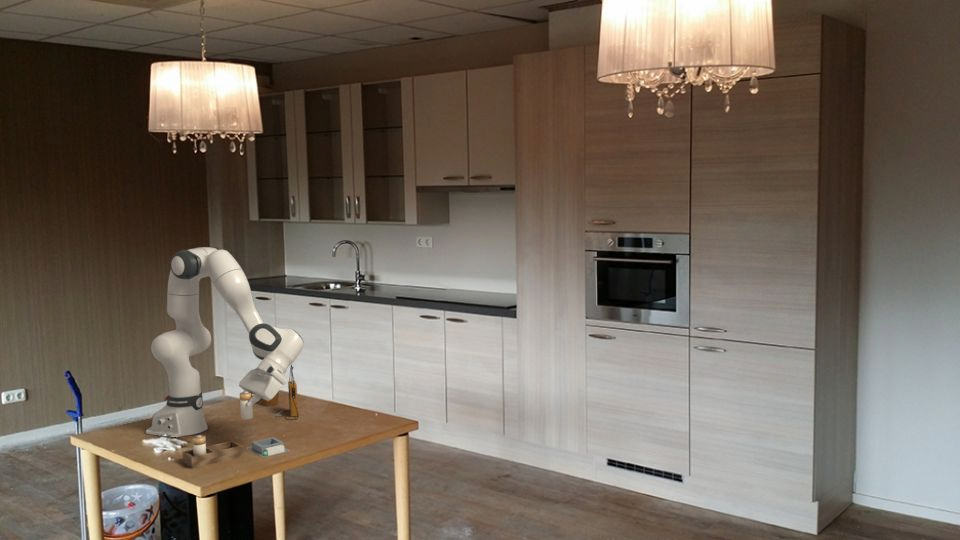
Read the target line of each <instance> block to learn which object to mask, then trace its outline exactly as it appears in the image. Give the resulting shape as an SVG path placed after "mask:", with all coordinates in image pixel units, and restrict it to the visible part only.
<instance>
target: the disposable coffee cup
mask: <svg viewBox="0 0 960 540" xmlns="http://www.w3.org/2000/svg"><path fill="white" fill-rule="evenodd" d="M279 395H280V390H279V391H278V392H277V394H276V395H275V396H274V397H273V398H272V399H271V400H269V401H267V400H265V399H263V398H261V402H262V406H263V405H264V406H263V407H274V406H277V405H278V404H279V398H280V397H279ZM273 405H274V406H273Z"/></svg>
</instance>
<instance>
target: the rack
mask: <svg viewBox="0 0 960 540" xmlns="http://www.w3.org/2000/svg"><path fill="white" fill-rule="evenodd" d="M244 453H245V451H244V445H242V444H240V443H239V442H237V441H235V440H229V441H224V442H221V443H216V444H212V445H208V446H207V445H206V454H203V455H199V456H194V454H193V449H189V450H185V451H182V463H183V464H185V465H186V466H188V467H189V468H190V469H197V468H201V467H205V466H210V465H213V464H218V463H221V462H227V461H231V460H234V459H239V458H243V457H244V456H245V454H244Z"/></svg>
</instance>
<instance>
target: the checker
mask: <svg viewBox="0 0 960 540" xmlns="http://www.w3.org/2000/svg"><path fill="white" fill-rule="evenodd" d="M284 444H285V443H284V442H283V441H282V440H280V439H277V438H276V437H274V436H272V437H268V438H264V439H259V440H255V441H251V446H248V447H247V446H246V449H247V450H249V451H251V452H253V453H254V454H256V455H258V456H260V457H261V458H266V457H270V456H274V455H275V456H276V455H279V454H282V453H283V454H284V453H287V452H291V450H290V449H288V448H286V447H285V445H284Z"/></svg>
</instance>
